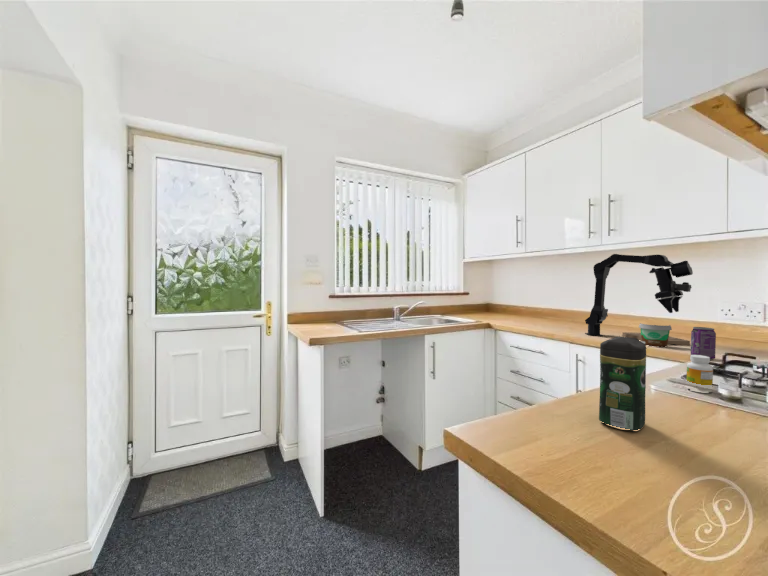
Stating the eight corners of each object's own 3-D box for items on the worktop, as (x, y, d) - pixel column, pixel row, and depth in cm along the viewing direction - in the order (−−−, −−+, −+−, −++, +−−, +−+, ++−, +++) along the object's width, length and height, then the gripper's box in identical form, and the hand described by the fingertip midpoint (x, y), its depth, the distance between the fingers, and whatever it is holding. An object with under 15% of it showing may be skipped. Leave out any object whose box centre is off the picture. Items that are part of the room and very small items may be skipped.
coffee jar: (605, 412, 80) (607, 333, 79) (648, 422, 74) (650, 337, 74) (593, 424, 73) (595, 338, 73) (639, 437, 67) (641, 343, 67)
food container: (640, 346, 159) (641, 324, 159) (638, 343, 164) (638, 323, 164) (674, 348, 153) (675, 326, 153) (670, 346, 159) (671, 324, 158)
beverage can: (697, 355, 139) (698, 326, 139) (719, 359, 133) (720, 328, 132) (686, 357, 137) (687, 327, 136) (708, 361, 130) (709, 329, 130)
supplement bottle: (681, 387, 99) (682, 353, 98) (702, 388, 98) (703, 354, 97) (694, 393, 93) (696, 358, 93) (717, 394, 92) (718, 358, 92)
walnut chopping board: (622, 336, 187) (622, 332, 186) (653, 336, 185) (653, 332, 185) (654, 344, 163) (654, 340, 163) (689, 345, 162) (689, 340, 161)
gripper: (680, 275, 152) (690, 310, 149) (691, 276, 163) (701, 308, 160) (650, 281, 161) (659, 314, 158) (663, 281, 172) (672, 312, 169)
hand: (674, 312), depth 161 cm, fingers open, 9 cm apart
